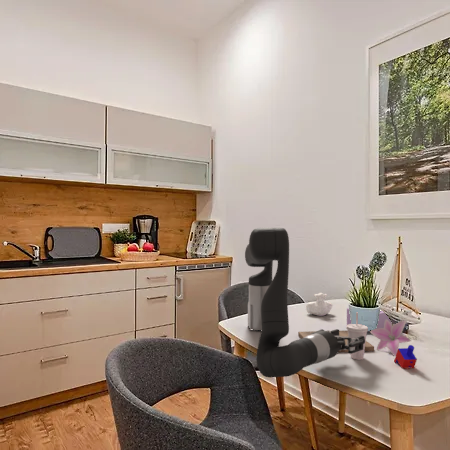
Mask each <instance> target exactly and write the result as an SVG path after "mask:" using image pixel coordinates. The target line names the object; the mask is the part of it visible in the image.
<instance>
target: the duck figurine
mask: <svg viewBox="0 0 450 450" xmlns="http://www.w3.org/2000/svg"><path fill="white" fill-rule="evenodd" d="M313 296H314V297H315V298H316V301H311V302H307V304H306V305H305V310H306V313H308V314H309V315H313V316H314V315H315V316H318V317H319V316H320V317H322V316H325V315H327V314H329V313H330V312H331V311H332V308H333V306H334V305H333V304H332V303H331V302H329V301H327V300H326V299H327V298H326V297H327V296H328V294H327V293H323V292H318V293H313Z"/></svg>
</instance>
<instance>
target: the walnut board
mask: <svg viewBox="0 0 450 450" xmlns="http://www.w3.org/2000/svg"><path fill="white" fill-rule="evenodd" d="M316 331H317V330H316ZM316 331H314V330H313V331H298V333H297V336H298V337H299V339H302V338H304V337H306V336H308V335H311V334H312V333H313V332H316ZM339 336H348V330H347V329H346V330H339ZM345 344H346V345H347V339H345ZM364 352H375V346H374V345H373V344H371V343H370V342H368V341H367V340H366V342H365V350H364ZM338 353H348V350H341V351H338Z"/></svg>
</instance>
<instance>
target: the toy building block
mask: <svg viewBox="0 0 450 450" xmlns="http://www.w3.org/2000/svg"><path fill="white" fill-rule="evenodd" d="M414 350H415V347H414V345H412V344H409V345H408V347H406V348H405V347H404V348H403V347H401V348H399V347H398V351H397V354H396V356H394V361H393V362H394V363H395V364H399V366H400V368H401V369H414V368H415V367H416V364H417V360H418V359H417V357H416V355H415V353H414Z"/></svg>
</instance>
